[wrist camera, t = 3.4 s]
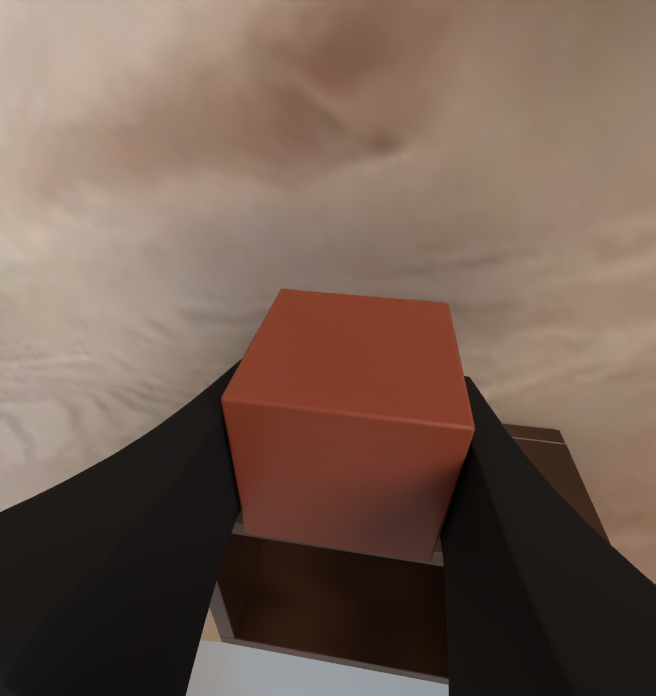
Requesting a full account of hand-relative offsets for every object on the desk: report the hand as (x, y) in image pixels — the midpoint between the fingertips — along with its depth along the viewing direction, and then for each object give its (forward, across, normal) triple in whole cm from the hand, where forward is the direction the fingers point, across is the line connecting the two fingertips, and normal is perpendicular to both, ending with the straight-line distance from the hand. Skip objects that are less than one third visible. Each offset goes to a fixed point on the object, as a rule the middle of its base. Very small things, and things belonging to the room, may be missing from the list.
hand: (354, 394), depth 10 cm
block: (+1, 0, 0) cm, 1 cm away
